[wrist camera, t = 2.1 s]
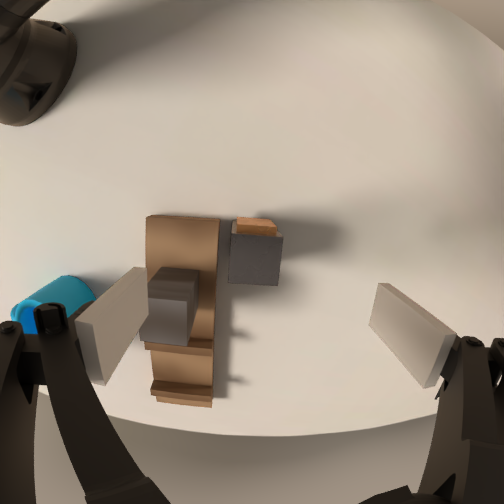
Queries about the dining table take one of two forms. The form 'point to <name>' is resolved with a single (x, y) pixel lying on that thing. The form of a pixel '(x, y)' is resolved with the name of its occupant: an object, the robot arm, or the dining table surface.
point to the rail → (198, 354)
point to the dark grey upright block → (255, 252)
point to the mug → (52, 300)
